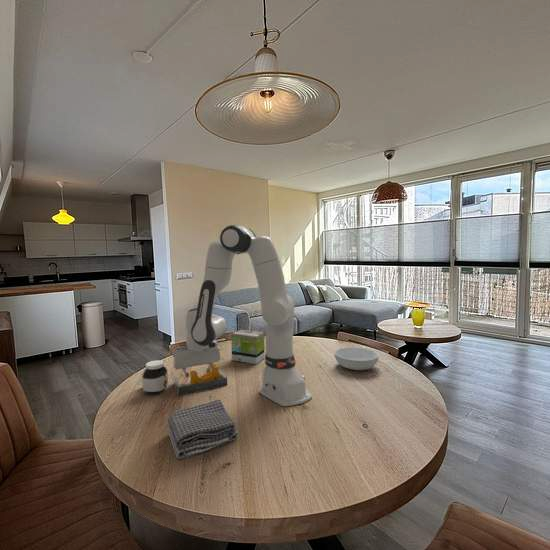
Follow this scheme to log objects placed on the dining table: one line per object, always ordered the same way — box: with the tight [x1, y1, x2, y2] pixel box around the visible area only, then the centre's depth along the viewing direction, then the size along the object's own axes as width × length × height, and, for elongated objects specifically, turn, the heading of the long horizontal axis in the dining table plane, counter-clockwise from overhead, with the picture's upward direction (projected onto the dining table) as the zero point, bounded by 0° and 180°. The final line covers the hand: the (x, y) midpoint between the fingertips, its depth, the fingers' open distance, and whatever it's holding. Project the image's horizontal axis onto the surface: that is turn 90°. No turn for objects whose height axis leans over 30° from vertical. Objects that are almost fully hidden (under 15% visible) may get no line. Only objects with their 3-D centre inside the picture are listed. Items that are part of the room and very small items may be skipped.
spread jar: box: [140, 360, 169, 395], centre depth 123 cm, size 12×11×12 cm
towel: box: [167, 399, 239, 460], centre depth 90 cm, size 15×18×8 cm
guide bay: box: [172, 369, 228, 396], centre depth 128 cm, size 13×20×3 cm, turn 118°
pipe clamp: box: [189, 364, 220, 385], centre depth 130 cm, size 12×4×6 cm, turn 127°
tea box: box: [230, 329, 265, 365], centre depth 157 cm, size 15×10×15 cm, turn 67°
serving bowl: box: [334, 346, 379, 371], centre depth 146 cm, size 21×21×7 cm
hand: (197, 374), depth 132 cm, fingers open, 8 cm apart
